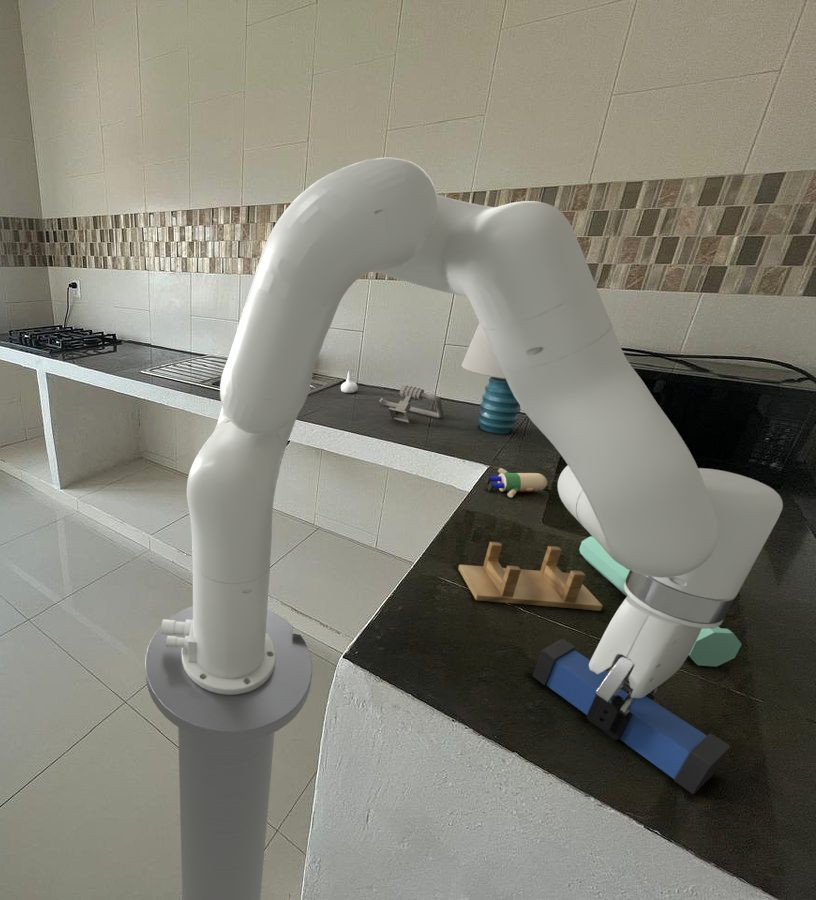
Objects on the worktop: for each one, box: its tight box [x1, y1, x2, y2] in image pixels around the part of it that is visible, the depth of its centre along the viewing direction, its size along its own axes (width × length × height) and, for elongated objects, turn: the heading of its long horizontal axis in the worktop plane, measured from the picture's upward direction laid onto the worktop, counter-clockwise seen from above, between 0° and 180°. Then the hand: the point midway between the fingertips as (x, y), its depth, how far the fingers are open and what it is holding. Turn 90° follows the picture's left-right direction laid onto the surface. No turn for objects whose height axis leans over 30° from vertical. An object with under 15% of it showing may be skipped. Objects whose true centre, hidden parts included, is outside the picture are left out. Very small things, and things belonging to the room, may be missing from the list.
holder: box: [457, 541, 603, 612], centre depth 76 cm, size 18×8×6 cm, turn 83°
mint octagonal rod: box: [579, 535, 743, 668], centre depth 73 cm, size 6×6×25 cm
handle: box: [532, 638, 732, 795], centre depth 54 cm, size 16×4×4 cm, turn 27°
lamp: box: [461, 322, 522, 435], centre depth 140 cm, size 25×25×39 cm
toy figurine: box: [484, 467, 548, 498], centre depth 108 cm, size 8×4×12 cm
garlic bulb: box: [340, 370, 358, 394], centre depth 184 cm, size 6×6×8 cm
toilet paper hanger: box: [378, 385, 445, 423], centre depth 158 cm, size 22×11×14 cm
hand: (614, 718), depth 55 cm, fingers closed on handle, 4 cm apart
